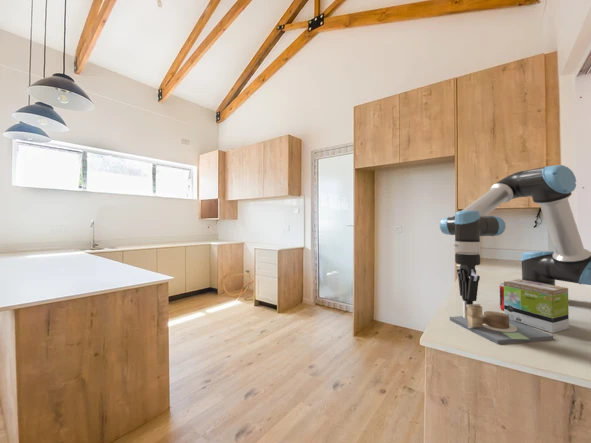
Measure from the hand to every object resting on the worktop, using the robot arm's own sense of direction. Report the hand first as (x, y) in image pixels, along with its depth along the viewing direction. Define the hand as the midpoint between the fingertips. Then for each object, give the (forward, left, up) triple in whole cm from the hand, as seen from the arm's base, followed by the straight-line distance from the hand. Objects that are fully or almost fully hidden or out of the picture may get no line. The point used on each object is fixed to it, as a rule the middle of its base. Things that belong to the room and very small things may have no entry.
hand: (468, 318), depth 92 cm
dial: (-4, +4, -1) cm, 5 cm away
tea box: (-26, +2, -3) cm, 26 cm away
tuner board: (-8, +4, -3) cm, 9 cm away
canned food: (-31, -11, -3) cm, 33 cm away
